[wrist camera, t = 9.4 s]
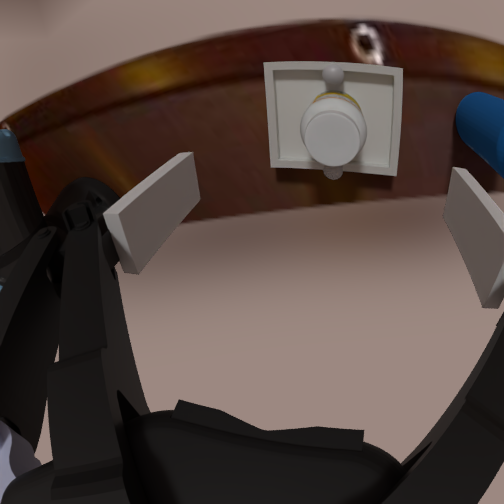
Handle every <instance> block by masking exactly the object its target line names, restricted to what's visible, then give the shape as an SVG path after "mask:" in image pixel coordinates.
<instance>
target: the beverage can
mask: <svg viewBox="0 0 504 504" xmlns="http://www.w3.org/2000/svg"><path fill="white" fill-rule="evenodd" d="M456 127H457V130H458V133H459V135H460V137H461V139H462V140H463V141H464V143H465V144H466V145H467V146H469V147H470V148H471V149H472V150H473V151H474V152H476V153H477V154H478V155H479V156H480V157H481V158H482V159H483V160H485V161H486V162H487V163H488V164H489V165H490V166H491V167H492V168H493V169H494V170H495V171H496V172H497V173H498V174H499V175H500V176H501V177H502V178H503V179H504V100H502V99H500V98H497V97H495V96H492V95H489V94H486V93H483V92H474V93H471V94H469V95H467V96H466V97H464V98H463V99H462V101H461V102H460V104H459V106H458V108H457V112H456Z"/></svg>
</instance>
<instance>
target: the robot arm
mask: <svg viewBox="0 0 504 504" xmlns="http://www.w3.org/2000/svg"><path fill="white" fill-rule="evenodd" d="M24 161H25V158H24V157H23V156H22V153H21V151H20V148H19V145H18V142H17V139H16V136H15V135H14V133H13V132H12V131H10V130H7V129H2V130H0V504H478V502H479V501H480V499H481V498H482V496H483V495H484V493H485V492H486V490H487V489H488V487H489V485H490V484H491V482H492V481H493V479H494V477H495V476H496V474H497V472H498V471H499V469H500V467H501V465H502V464H503V462H504V312H503V314H502V316H501V318H500V319H499V321H498V323H497V325H496V326H497V327H496V329H495V331H494V333H493V335H492V337H491V339H490V341H489V343H488V344H487V346H486V348H485V350H484V352H483V353H482V355H481V357H480V359H479V360H478V362H477V364H476V366H475V367H474V369H473V371H472V372H471V374H470V376H469V377H468V379H467V380H466V382H465V383H464V385H463V387H462V388H461V390H460V391H459V392H458V394H457V396H456V397H455V398H454V400H453V401H452V403H451V404H450V405H449V407H448V408H447V410H446V411H445V412H444V414H443V415H442V416H441V418H440V419H439V420H438V422H437V423H436V424H435V426H434V427H433V428H432V429H431V431H430V432H429V433H428V434H427V436H426V437H425V438H424V439H423V440H422V442H421V443H420V444H419V445H418V446H417V447H416V449H415V450H414V451H413V452H412V453H411V454H410V455H409V456H408V457H407V458H406V459H405V460H404V461H403V462H402V463H401V464H400V463H399V462H398V461H397V460H396V459H395V458H394V457H393V456H391V455H390V454H389V453H387V452H385V451H384V450H382V449H380V448H378V447H376V446H374V445H371V444H369V443H366V442H363V437H364V430H352V429H339V428H327V427H308V428H298V429H286V430H273V431H267V430H262V429H259V428H257V427H255V426H253V425H250V424H248V423H246V422H244V421H242V420H240V419H238V418H236V417H233V416H231V415H229V414H227V413H225V412H223V411H221V410H218V409H214V408H209V407H206V406H201V405H198V404H194V403H190V402H186V401H183V400H178V403H177V405H176V407H175V409H174V410H166V411H157V412H152V413H151V412H150V410H149V408H148V406H147V403H146V400H145V397H144V393H143V390H142V386H141V383H140V379H139V375H138V371H137V368H136V364H135V360H134V356H133V352H132V347H131V343H130V339H129V334H128V329H127V324H126V320H125V315H124V310H123V305H122V299H121V294H120V287H119V282H118V275H117V272H116V270H115V267H114V266H115V265H116V264H117V262H119V261H120V263H121V266H122V269H123V271H124V273H131V274H139V273H140V272H141V271H142V270H143V268H144V267H145V266H146V265H147V263H148V262H149V261H150V259H151V258H152V257H153V256H154V254H155V253H156V252H157V251H158V249H159V248H160V247H161V246H162V244H163V243H164V242H165V241H166V239H167V238H168V237H169V236H170V235H171V233H172V232H173V231H174V230H175V229H176V227H177V226H178V225H179V224H180V223H181V221H182V220H183V219H184V218H185V217H186V216H187V214H188V213H189V212H190V211H191V210H192V208H193V207H194V206H195V205H196V204H197V203H198V201H199V200H200V193H199V187H198V181H197V175H196V169H195V163H194V157H193V152H188V153H179V154H178V155H176V156H175V157H174V158H172V159H171V160H169V161H168V162H167V163H165V164H164V165H163V166H161V167H160V168H159V169H157V170H156V171H155V172H153V173H152V174H151V175H150V176H148V177H147V178H146V179H144V180H143V181H142V182H141V183H139V184H138V185H137V186H136V187H134V188H133V189H132V190H131V191H129V192H128V193H127V194H126V195H124V196H123V197H122V198H121V199H120V198H119V197H118V196H117V195H116V193H115V192H114V191H113V190H111V189H110V188H109V187H108V186H107V185H105V184H104V183H102V182H100V181H98V180H96V179H93V178H88V177H83V178H78V179H76V180H74V181H73V182H71V183H70V184H69V185H67V186H66V187H65V188H64V189H63V190H62V191H61V193H60V194H59V195H58V197H57V198H56V200H55V201H54V203H53V204H52V206H51V208H50V209H49V211H48V212H47V214H46V215H45V216H44V215H43V213H42V211H41V208H40V205H39V203H38V200H37V197H36V195H35V192H34V189H33V186H32V184H31V181H30V178H29V175H28V172H27V169H26V166H25V162H24ZM443 218H444V219H445V222H446V224H447V226H448V228H449V230H450V232H451V234H452V236H453V238H454V240H455V242H456V244H457V246H458V248H459V251H460V253H461V255H462V257H463V260H464V262H465V264H466V267H467V269H468V271H469V274H470V275H471V279H472V281H473V284H474V286H475V289H476V291H477V294H478V296H479V299H480V302H481V305H482V308H496V309H498V308H499V306H500V304H501V302H502V300H503V298H504V213H503V212H502V211H501V209H500V208H499V207H498V206H497V204H496V203H495V202H494V201H493V200H492V198H491V197H490V196H489V195H488V194H487V192H486V191H485V190H484V189H483V188H482V187H481V185H480V184H479V183H478V182H477V181H476V180H475V179H474V177H473V176H472V175H471V174H470V173H469V172H468V171H467V170H466V169H463V168H457V167H453V168H452V174H451V179H450V185H449V190H448V195H447V200H446V204H445V209H444V213H443ZM58 345H59V361H58V362H55V363H54V361H55V357H56V353H57V349H58ZM46 400H47V401H48V417H49V430H50V440H51V447H52V456H53V460H52V461H50V462H48V463H46V464H43V465H41V463H40V461H39V460H38V459H37V458H35V457H34V453H35V451H36V448H37V445H38V441H39V438H40V434H41V429H42V424H43V419H44V412H45V406H46Z"/></svg>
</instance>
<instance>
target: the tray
mask: <svg viewBox="0 0 504 504" xmlns="http://www.w3.org/2000/svg"><path fill="white" fill-rule="evenodd" d="M264 74H265V87H266V101H267V115H268V130H269V145H270V162H271V167H279V168H303V169H320V170H323V171H324V174H325V176H326V177H327V178H329V179H332V180H335V179H338V178H340V177H341V176H342V174H343V171H348V172H360V173H371V174H381V175H390V176H396V174H397V165H398V155H399V144H400V131H401V115H402V87H403V69H402V68H396V67H388V66H379V65H369V64H357V63H342V62H308V61H299V62H266V63H264ZM330 90H338V91H342V92H345V93H347V94H349V95H350V96H352V97H353V98H354V99H355V100H356V101H357V103H358V104H359V106H360V108H361V111H362V114H363V116H364V119H365V122H366V126H367V138H366V142H365V145H364V147H363V148H362V150H361V151H360V152H359V153H358V154H357V155H356V156H355V157H354V158H353V159H352V160H351V161H350V162H349V163H347V164H344V165H342V166H335V167H333V166H327V165H323V164H321V163H319V162H318V161H316V160H315V159H314V158H313V157H312V156H311V155H310V154H309V152H308V151H307V149H306V147H305V145H304V143H303V141H302V138H301V134H300V123H301V119H302V116H303V114H304V112H305V111H306V109H307V108H308V107H309V105H310V103H311V102H312V101H313V99H314V98H315V97H316V96H317V95H319V94H320V93H322V92H325V91H330Z"/></svg>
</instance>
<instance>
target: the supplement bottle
mask: <svg viewBox="0 0 504 504" xmlns="http://www.w3.org/2000/svg"><path fill="white" fill-rule="evenodd" d="M300 134H301V138H302V141H303V143H304V145H305V147H306V149H307V151H308V152H309V154H310V155H311V156H312V157H313V158H314V159H315V160H316V161H318V162H319V163H321V164H323V165H327V166H333V167H335V166H342V165H344V164H347V163H349V162H350V161H351V160H352V159H353V158H354V157H355V156H356V155H357V154H358V153H359V152H360V151H361V150H362V148H363V147H364V145H365V142H366V138H367V126H366V122H365V119H364V116H363V114H362V111H361V108H360V106H359V104H358V103H357V101H356V100H355V99H354V98H353V97H352V96H350V95H349V94H347V93H345V92H342V91H338V90H330V91H325V92H322V93H320V94H319V95H317V96H316V97H315V98H314V99H313V101H312V102H311V103H310V105H309V107H308V108H307V109H306V111H305V112H304V114H303V116H302V119H301V123H300Z"/></svg>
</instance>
